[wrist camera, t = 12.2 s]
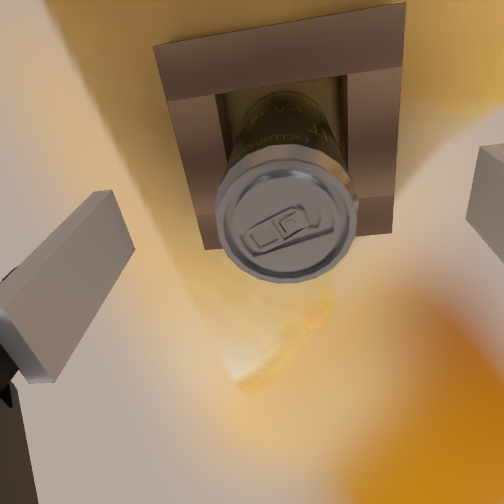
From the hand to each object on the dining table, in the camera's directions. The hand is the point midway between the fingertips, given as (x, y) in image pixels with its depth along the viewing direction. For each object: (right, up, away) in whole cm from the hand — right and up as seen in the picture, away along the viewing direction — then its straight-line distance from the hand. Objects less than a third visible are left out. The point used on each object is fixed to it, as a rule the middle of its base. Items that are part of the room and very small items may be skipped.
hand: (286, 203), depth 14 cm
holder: (+1, +5, +9) cm, 11 cm away
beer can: (+1, +6, +9) cm, 11 cm away
